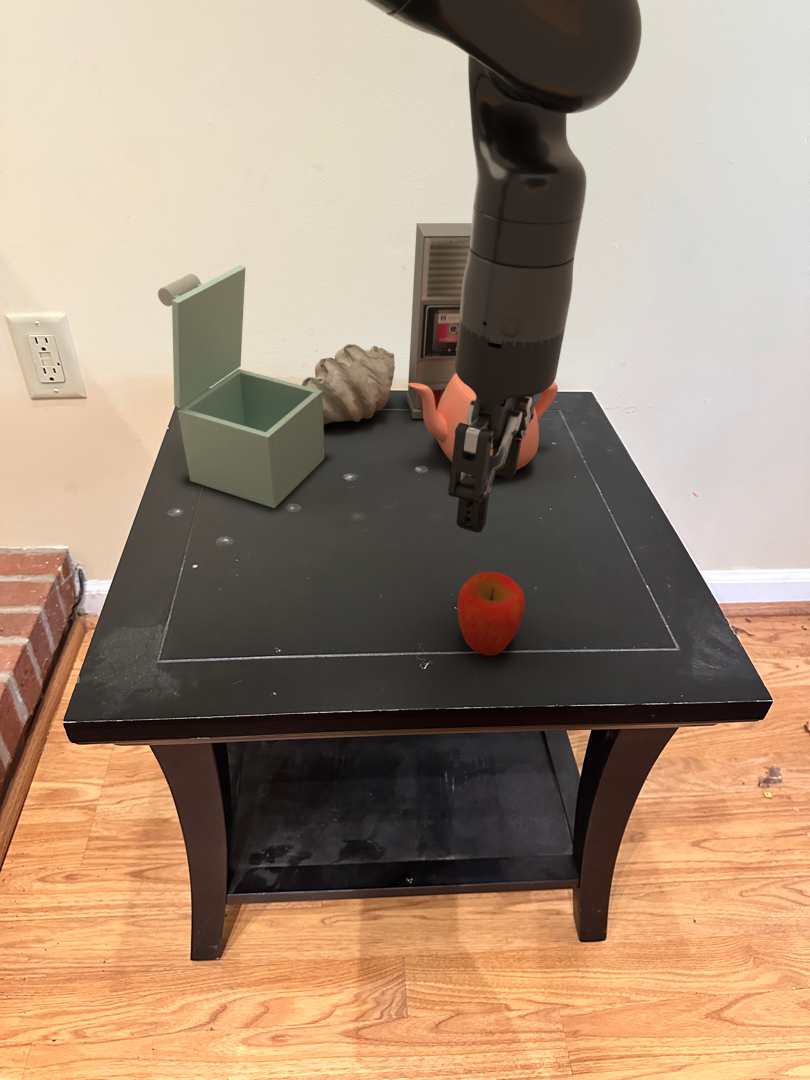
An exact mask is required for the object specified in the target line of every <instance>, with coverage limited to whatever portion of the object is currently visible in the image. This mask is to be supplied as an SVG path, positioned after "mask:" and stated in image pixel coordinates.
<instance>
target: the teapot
mask: <svg viewBox="0 0 810 1080" xmlns="http://www.w3.org/2000/svg"><path fill="white" fill-rule="evenodd" d="M408 385H409V386H410V387H412V388H413V389H415V390H416V391H418V393H419V394H420V396H421V398H422V403H423V418H422V419H423V423H424V425H425V428H426V430H427V431H428V433H429V434H430V435H431V436H432V437H433V438H435V439H436V441H437V443H438V445H439V447H440V448H441V450H442V451H443V453H444V455H445V456H446V457H447V459H448V460H449V461H450V462H452V457H453V449H454V440H455V429H456V427H457V426H458V424H459V423H464V424H467V423H468V422H467V419H466V415H467V412H468V409H469V405H470V403H471V401H472V400H475V399H476V394H475V393H474V391H473V390H472V389H471V388H470V387H469V386H467V385H466V384H464V383H463V382H462V381H461V380H460V378H459V377H458V375H457V373H456V374H454V375H453V377H452V378H451V380H450V382H449V383H448V385H447V387H446V389H445V391H444V393H443V395H442V397H441V399H440V402H439V404H438V408H437V411H436V406H435V398H434V394H433V392H432V390H431V389H430V388H429V387H428V386H426V385H423V384H419V383H409V384H408V383H407V386H408ZM558 390H559V387H558V385H557V383H556V382H555V381H554V382H553V384H552V385H551V386H550V387H549V388H548V389H547V390H545V391H543V392H541V396H540V397H539V399H538V400H537V402H536V403H535V406H534V412H533V414H534V417H533V419H532V420H531V422H530V423H528V426H527V429H526V430H527V433H526V435H525V436H524V438H523V439H521V440H522V441H521V447H520V453H519V459H518V465H517V470H520V469H521V468H523V467H525V466H526V465H528V464H529V463H530V462H531V460H533V458H535V456H536V455H537V452H538V448H539V440H540V439H539V438H540V430H539V419H541V417H542V416H543V415H544V413H545V412H546V411H547V410H548V409H549V407H550V406H551V405H552V403H553V402H554V400H555V398H556V396H557V394H558ZM492 454H493V449H491V452H490V456H492ZM468 477H474V476H473V475H470V474H469V476H468Z"/></svg>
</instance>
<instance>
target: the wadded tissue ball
mask: <svg viewBox="0 0 810 1080" xmlns="http://www.w3.org/2000/svg"><path fill="white" fill-rule="evenodd" d="M395 365H396V364H395V354H394V353H393V352H390V351H388V350H386V349H384V348H383V347H379V346H376V345H373V346H372V347H371V348H370V349H367V350H365V349H363V348H362V347H360V346H359V345H358V344H354V343H347V344H346V345H344V346H343V347H342V348H340V349H339V350H338V351H337V352H336V353H335V354H334V357H325V358H321V359H319V361H318V362H317V363H316V364H315V367H314V375H315V377H314V376H310V377H306V378H305V379H303V381H302V382H301V385H302V386H305V387H309V388H313V389H317V390H320V391H322V393H323V425H324V426H325V425H328V424H331V423H333V422H337V423H339V422H346V421H347V422H349V421H350V422H351V421H352V422H356V423H359V422H360V421H361V420H362V419H366V420H369V419H371V418H373V417H374V414H375V413H376V412H378V411H380V410H383V408H385V406H386V405H387V403H388V401H389V399H390V396H391V391H392V390H391V388H392V386H393V380H394V375H395V369H396V366H395Z"/></svg>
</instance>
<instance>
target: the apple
mask: <svg viewBox="0 0 810 1080" xmlns="http://www.w3.org/2000/svg"><path fill="white" fill-rule="evenodd" d="M525 607H526V599H525V592H524V591H523V589H522V588H521V586H520V585H519V584H518V583H517V582H516V581H515V580H513V579H512V578H511V577H510V576H509V575H507V574H503V573H501V572H497V571H483V572H480V573H477V574H474V575H472V576H471V577H470V578H469V579H467V581H466V582H465V583H464V584H463V585H462V586H461V588H460V590H459V592H458V597H457V618H458V624H459V628H460V631H461V634H462V637H463V638H464V640H465V643H466V644H467V646H469V648H470V649H471V650H473V651H475V652H476V653H478V654H481V655H484V656H485V657H486V656H496V655H498V654H499V653H500V654H501V653H502V652H503V651H504V650H505V649H506V648H507V647H508V645H509V644H510V643H511V641H512V640H513V639H514V637H515V636H516V634H517V632H518V630H519V629H520V625H521V623H522V621H523V617H524V612H525Z"/></svg>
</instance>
